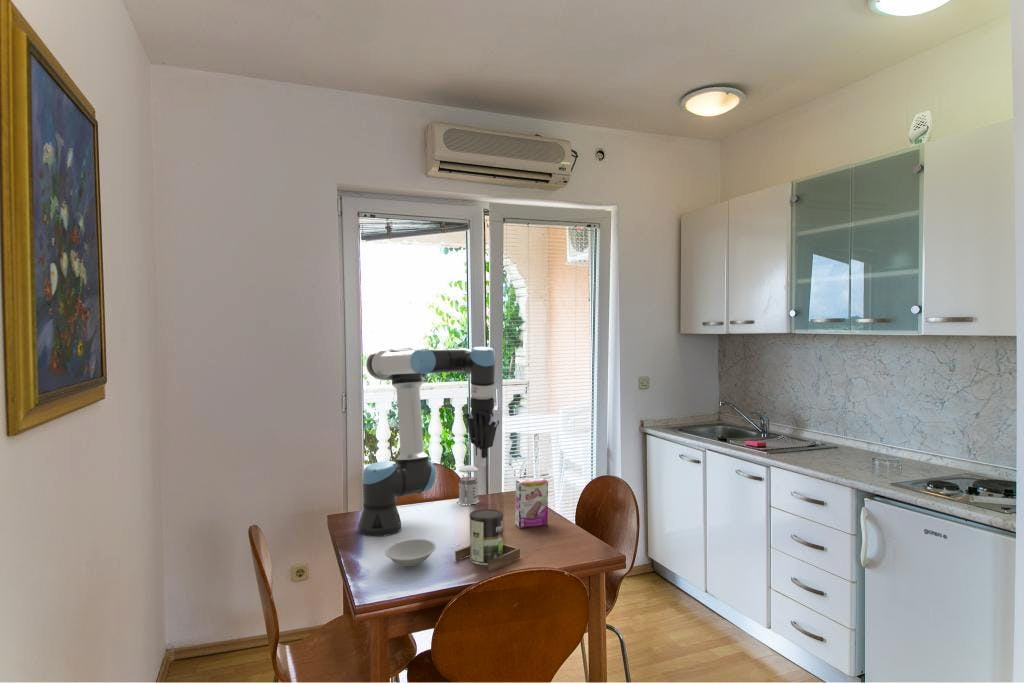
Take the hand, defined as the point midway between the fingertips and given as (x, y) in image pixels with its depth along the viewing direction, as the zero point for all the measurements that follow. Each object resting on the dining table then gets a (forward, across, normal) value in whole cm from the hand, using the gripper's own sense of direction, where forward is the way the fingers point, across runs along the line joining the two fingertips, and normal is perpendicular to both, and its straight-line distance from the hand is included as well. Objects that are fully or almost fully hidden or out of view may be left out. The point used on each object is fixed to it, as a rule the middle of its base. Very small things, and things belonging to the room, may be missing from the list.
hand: (481, 466), depth 189 cm
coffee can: (+24, +12, -10) cm, 29 cm away
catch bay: (+24, +12, -10) cm, 28 cm away
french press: (+37, -36, +31) cm, 60 cm away
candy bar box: (+30, +2, +25) cm, 39 cm away
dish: (+24, -2, -28) cm, 37 cm away
